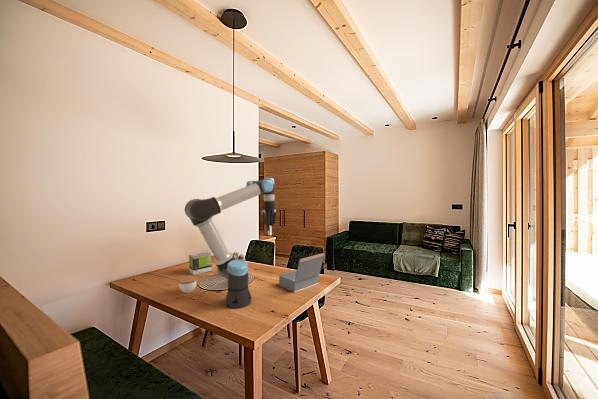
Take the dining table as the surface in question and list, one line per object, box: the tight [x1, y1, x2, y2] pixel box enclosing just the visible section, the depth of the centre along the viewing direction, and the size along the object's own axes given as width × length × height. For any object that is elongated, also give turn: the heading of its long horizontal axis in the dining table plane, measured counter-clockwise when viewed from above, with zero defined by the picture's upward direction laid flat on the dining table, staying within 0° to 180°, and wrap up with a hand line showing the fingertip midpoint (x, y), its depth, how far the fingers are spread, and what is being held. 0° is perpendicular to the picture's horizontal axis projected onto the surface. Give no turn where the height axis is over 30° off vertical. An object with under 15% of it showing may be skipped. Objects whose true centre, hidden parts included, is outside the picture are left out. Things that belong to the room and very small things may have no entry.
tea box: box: [188, 250, 213, 276], centre depth 203 cm, size 15×10×15 cm
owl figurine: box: [232, 251, 246, 262], centre depth 199 cm, size 18×12×17 cm, turn 151°
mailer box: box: [278, 270, 320, 293], centre depth 173 cm, size 22×16×7 cm
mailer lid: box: [295, 252, 325, 282], centre depth 164 cm, size 22×16×1 cm
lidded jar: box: [178, 276, 197, 294], centre depth 164 cm, size 11×11×9 cm
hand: (269, 234), depth 173 cm, fingers closed
